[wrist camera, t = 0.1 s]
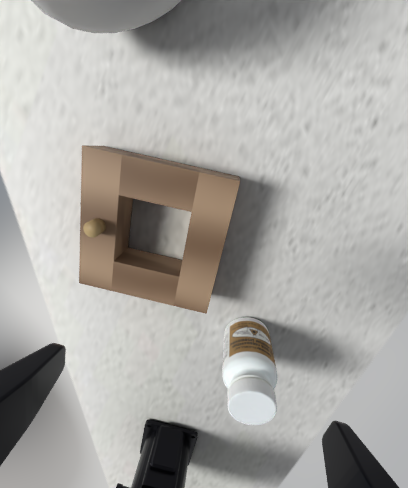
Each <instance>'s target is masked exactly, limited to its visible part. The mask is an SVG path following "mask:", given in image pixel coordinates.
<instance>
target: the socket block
mask: <svg viewBox="0 0 408 488" xmlns="http://www.w3.org/2000/svg"><path fill="white" fill-rule="evenodd" d="M239 184H240V178H239V176H235V175H230V174H226V173H221V172H217V171H212V170H208V169H203V168H199V167H195V166H190V165H186V164H181V163H177V162H172V161H168V160H164V159H159V158H155V157H150V156H146V155H141V154H137V153H132V152H128V151H124V150H119V149H115V148H110V147H106V146H82V174H81V222H80V271H79V283H81V284H85V285H90V286H94V287H98V288H102V289H106V290H110V291H115V292H119V293H123V294H127V295H131V296H135V297H140V298H144V299H148V300H152V301H156V302H160V303H165V304H169V305H173V306H177V307H181V308H185V309H190V310H194V311H198V312H202V313H207V309H208V305H209V302H210V298H211V294H212V290H213V286H214V282H215V278H216V274H217V270H218V266H219V262H220V258H221V255H222V251H223V247H224V243H225V239H226V235H227V231H228V227H229V223H230V219H231V215H232V211H233V208H234V204H235V200H236V196H237V192H238V188H239ZM133 198H134V199H138V200H142V201H147V202H151V203H155V204H160V205H164V206H168V207H173V208H177V209H181V210H186V211H190V212H192V213H191V219H190V224H189V229H188V234H187V239H186V245H185V250H184V255H183V260H179V259H175V258H171V257H167V256H162V255H158V254H154V253H150V252H145V251H141V250H137V249H133V248H128V244H129V234H130V224H131V214H132V204H133Z"/></svg>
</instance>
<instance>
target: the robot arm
mask: <svg viewBox="0 0 408 488" xmlns="http://www.w3.org/2000/svg"><path fill="white" fill-rule="evenodd" d="M65 350H66V349H65V346H63V345H60V344H56V343H52V344H49V345H48V346H45V347H43V348H41V349H40V350H38V351H36V352H34V353H32V354H30V355H28V356H26V357H25V358H22V359H21V360H19V361H17V362H15V363H13V364H11V365H9V366H7V367H6V368H4V369H2V370H0V465H1V464H2V463H3V461H4V460H5V459H6V457H7V456H8V455H9V453H10V451H11V450H12V449H13V448H14V446H15V445H16V443H17V442H18V441H19V439H20V438H21V436H22V435H23V434H24V432H25V431H26V430H27V428H28V427H29V425H30V424H31V422H32V421H33V419H34V418H35V416H36V414H37V413H38V411H39V409H40V408H41V406H42V404H43V403H44V401H45V399H46V398H47V396H48V394H49V393H50V391H51V389H52V388H53V386H54V384H55V383H56V381H57V379H58V378H59V376H60V374H61V372H62V371H63V368H64V365H65ZM196 440H197V432H195V431H192V430H188V429H184V428H180V427H176V426H172V425H168V424H164V423H160V422H156V421H153V420H147V421H146V423H145V428H144V433H143V439H142V444H141V450H140V453H141V457H140V460H139V463H138V467H137V470H136V473H135V477H134V480H133V483H132V487H131V488H184V487H185V480H186V473H187V466H188V465H189V462H190V459H191V456H192V453H193V450H194V446H195V443H196ZM322 445H323V452H324V460H325V467H326V475H327V482H328V488H399V487H398V486H397V484H396V483H395V482H394V481H393V479H392V478H391V477H390V476H389V475H388V474H387V472H386V471H385V470H384V468H383V467H382V466H381V465H380V463H379V462H378V461H377V460H376V459H375V457H374V456H373V455H372V454H371V452H370V451H369V450H368V449H367V448H366V446H365V445H364V444H363V442H362V441H361V440H360V439H359V438H358V436H357V435H356V434H355V433H354V432H353V430H352V429H351V428H350V427H349V426H348V425H347V424H345V423H342V422H338V421H333V422H332V423H331V425H330V426H329V428H328V429H327V431H326V432H325V434H324V435H323V438H322ZM116 488H129V487H126V486H123V484H119V483H118V484H117V487H116Z"/></svg>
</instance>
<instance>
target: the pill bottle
mask: <svg viewBox="0 0 408 488" xmlns="http://www.w3.org/2000/svg"><path fill="white" fill-rule="evenodd" d="M222 375H223V381H224V384H225V386H226V387H227V389H228V410H229V413H230V415H231V416H232V417H233V418H234V419H235V420H237V421H239V422H241V423H243V424H247V425H260V424H265V423H267V422H269V421H270V420H271V419H273V417H274V416H275V415H276V411H277V406H276V398H275V392H274V388H275V386H276V383H277V371H276V365H275V360H274V355H273V350H272V345H271V340H270V335H269V331H268V329H267V327H266V326H265V325H264V324H263V323H262V322H261V321H259V320H257V319H254V318H250V317H243V318H238V319H235V320H233V321H232V322H231V323H229V324H228V326H227V327H226V329H225V333H224V350H223V373H222Z"/></svg>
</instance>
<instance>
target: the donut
mask: <svg viewBox="0 0 408 488" xmlns="http://www.w3.org/2000/svg"><path fill="white" fill-rule="evenodd" d="M32 1H33V2H34V3H35V4H36V5H37V7H38V8H39V9H40V10H41V11H42V12H43V13H45V14H46V15H48V16H50V17H52V18H54V19H56V20H58V21H60V22H61V23H63V24H65V25H67V26H69V27H71V28H73V29H77V30H82V31H86V32H91V33H117V32H122V31H127V30H132V29H136V28H138V27H141V26H143V25H146V24H148V23H151V22H153V21H155V20H156V19H158V18H159V17H161V16H163V15H164V14H166V13H167V12H169V11H170V10H172V9H173V8H174V7H175V6H176V5H177V4H178V3H179V2H180V1H181V0H32Z"/></svg>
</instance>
